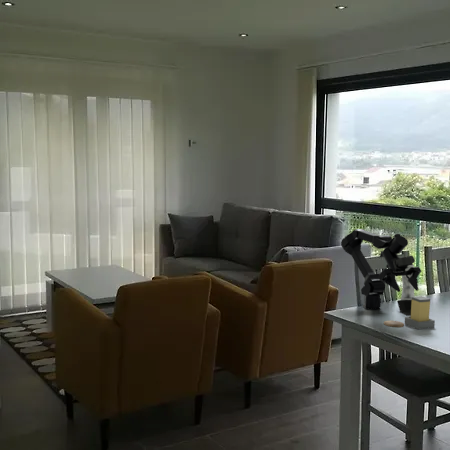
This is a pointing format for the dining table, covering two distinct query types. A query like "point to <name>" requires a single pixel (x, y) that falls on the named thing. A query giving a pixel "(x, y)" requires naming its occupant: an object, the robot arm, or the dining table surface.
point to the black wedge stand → (405, 306)
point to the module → (420, 308)
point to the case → (419, 323)
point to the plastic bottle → (407, 287)
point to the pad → (393, 323)
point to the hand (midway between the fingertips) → (408, 290)
